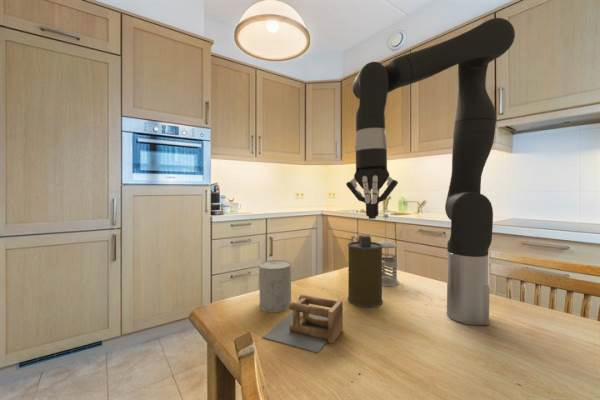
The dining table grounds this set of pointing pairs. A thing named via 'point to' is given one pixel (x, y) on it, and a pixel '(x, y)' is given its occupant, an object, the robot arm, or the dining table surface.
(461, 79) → the robot arm
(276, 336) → the mat
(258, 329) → the dining table surface
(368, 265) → the canister
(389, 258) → the french press
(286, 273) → the grey mottled cylinder
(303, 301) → the wooden dowel frame
